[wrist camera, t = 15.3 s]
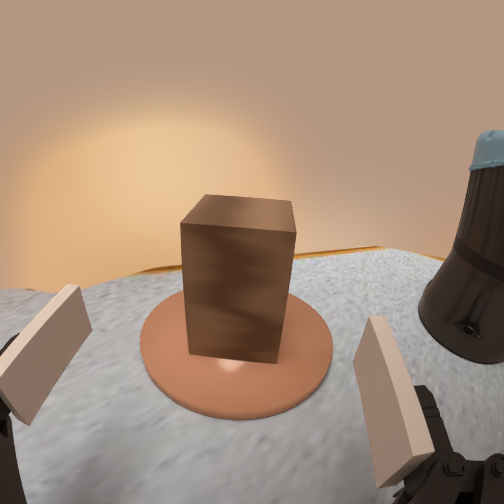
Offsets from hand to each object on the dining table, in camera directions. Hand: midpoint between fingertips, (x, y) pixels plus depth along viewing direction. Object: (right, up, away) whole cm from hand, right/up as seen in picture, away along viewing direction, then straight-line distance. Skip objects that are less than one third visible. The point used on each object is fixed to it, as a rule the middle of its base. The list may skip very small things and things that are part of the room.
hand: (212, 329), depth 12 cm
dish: (0, -5, +14) cm, 14 cm away
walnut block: (0, -4, +13) cm, 14 cm away
